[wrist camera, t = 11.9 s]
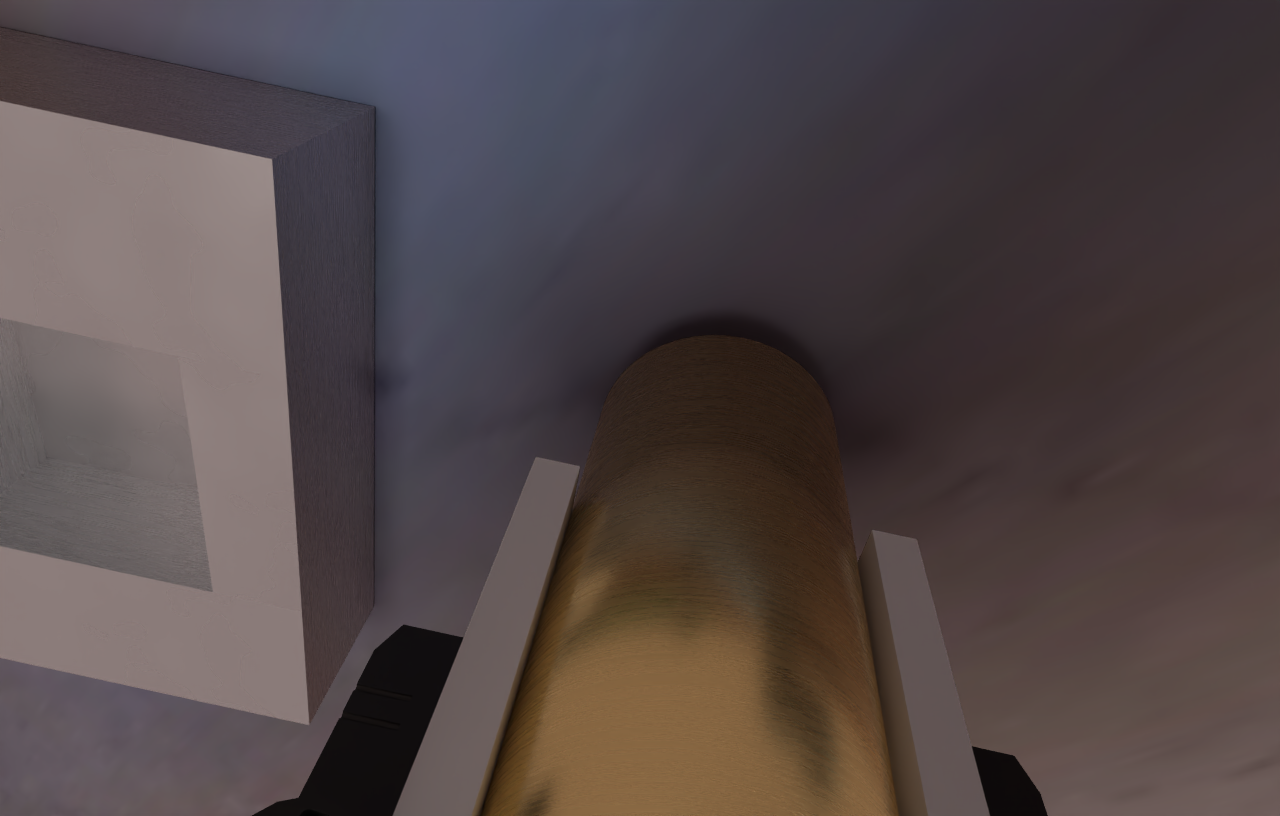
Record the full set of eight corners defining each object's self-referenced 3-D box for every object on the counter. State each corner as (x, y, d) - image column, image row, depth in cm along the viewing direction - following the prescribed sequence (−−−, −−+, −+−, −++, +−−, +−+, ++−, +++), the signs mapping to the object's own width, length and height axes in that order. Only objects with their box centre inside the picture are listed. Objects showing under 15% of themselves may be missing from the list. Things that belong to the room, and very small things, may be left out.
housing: (-122, 0, 16) (-359, 23, 12) (374, 106, 16) (272, 159, 12) (35, 533, 23) (-87, 638, 20) (373, 606, 23) (308, 725, 20)
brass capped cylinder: (619, 311, 16) (385, 1015, 6) (868, 364, 16) (1077, 1166, 6) (584, 505, 19) (381, 1222, 8) (797, 552, 19) (854, 1328, 8)
